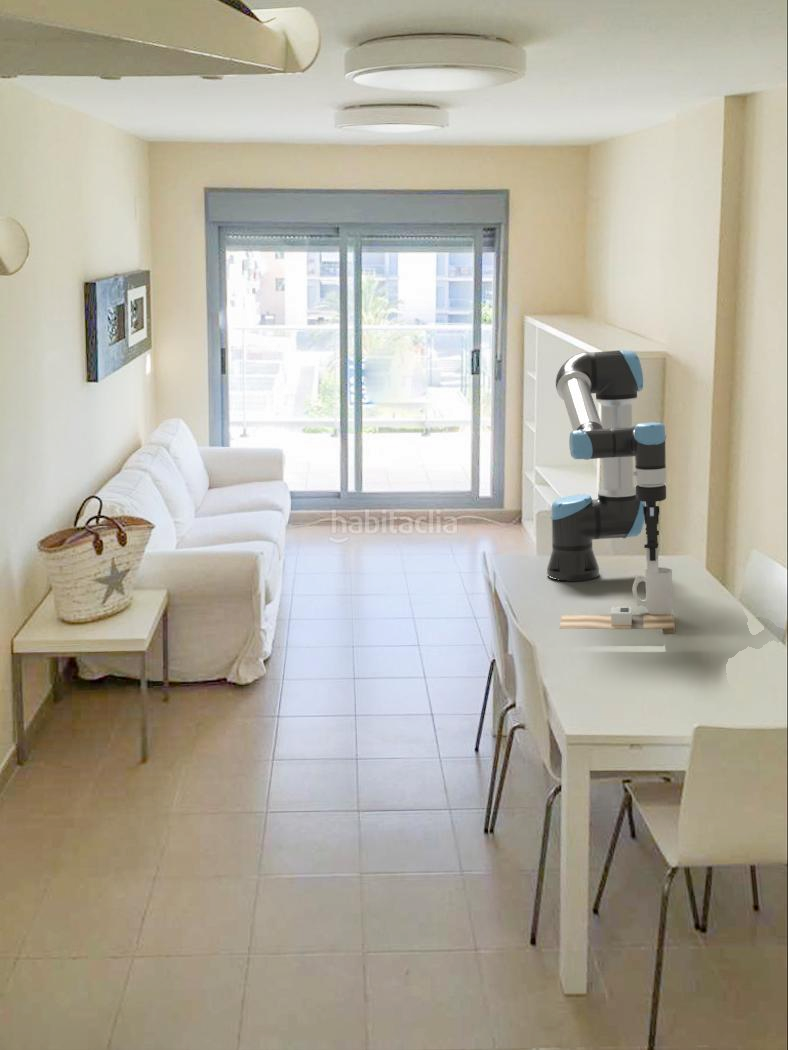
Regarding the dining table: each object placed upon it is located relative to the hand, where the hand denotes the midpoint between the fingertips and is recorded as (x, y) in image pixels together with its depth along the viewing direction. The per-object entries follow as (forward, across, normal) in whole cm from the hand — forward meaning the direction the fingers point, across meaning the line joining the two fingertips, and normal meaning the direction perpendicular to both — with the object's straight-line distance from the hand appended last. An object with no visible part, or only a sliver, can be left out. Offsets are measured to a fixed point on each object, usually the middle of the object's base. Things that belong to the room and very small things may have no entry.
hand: (652, 566), depth 319 cm
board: (+13, +8, -9) cm, 18 cm away
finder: (+12, +9, -8) cm, 17 cm away
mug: (+13, -1, 0) cm, 13 cm away
